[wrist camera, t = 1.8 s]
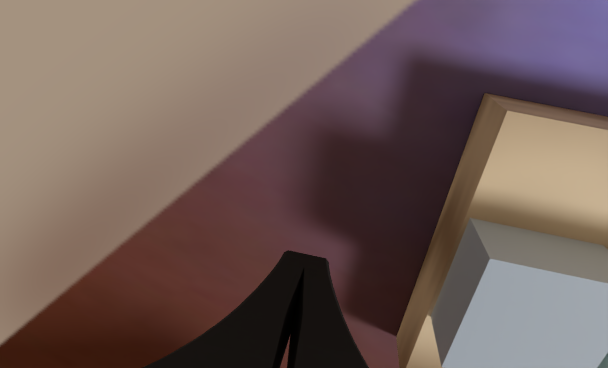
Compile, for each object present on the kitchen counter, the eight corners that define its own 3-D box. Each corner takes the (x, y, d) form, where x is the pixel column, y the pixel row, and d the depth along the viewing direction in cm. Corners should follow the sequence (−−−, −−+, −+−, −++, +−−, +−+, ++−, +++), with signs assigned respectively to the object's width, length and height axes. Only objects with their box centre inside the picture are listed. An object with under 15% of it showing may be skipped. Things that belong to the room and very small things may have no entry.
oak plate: (605, 383, 19) (638, 434, 17) (396, 336, 20) (401, 381, 17) (773, 148, 14) (852, 177, 12) (484, 93, 14) (507, 110, 12)
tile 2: (547, 341, 16) (576, 397, 13) (430, 316, 16) (441, 367, 14) (603, 245, 14) (649, 291, 11) (469, 217, 14) (490, 258, 12)
